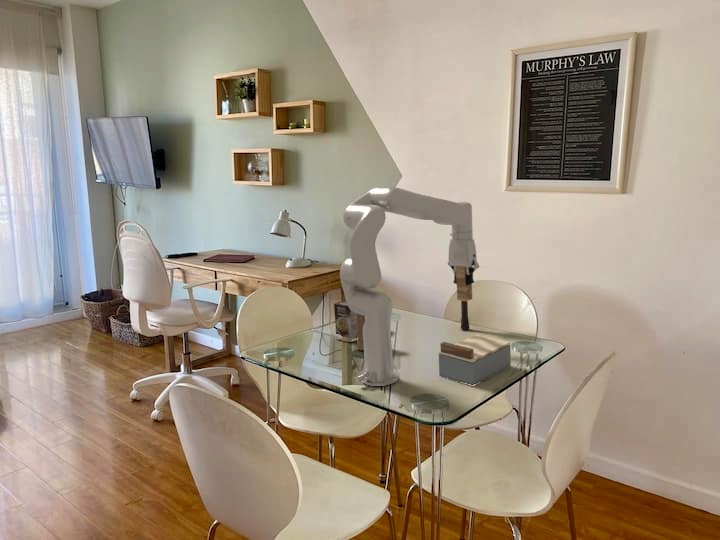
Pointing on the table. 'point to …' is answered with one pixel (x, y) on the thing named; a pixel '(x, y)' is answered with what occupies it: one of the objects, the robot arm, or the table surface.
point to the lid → (472, 348)
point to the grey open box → (474, 367)
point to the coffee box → (345, 320)
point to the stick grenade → (464, 312)
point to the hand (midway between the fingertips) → (463, 283)
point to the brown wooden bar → (463, 285)
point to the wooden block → (360, 330)
